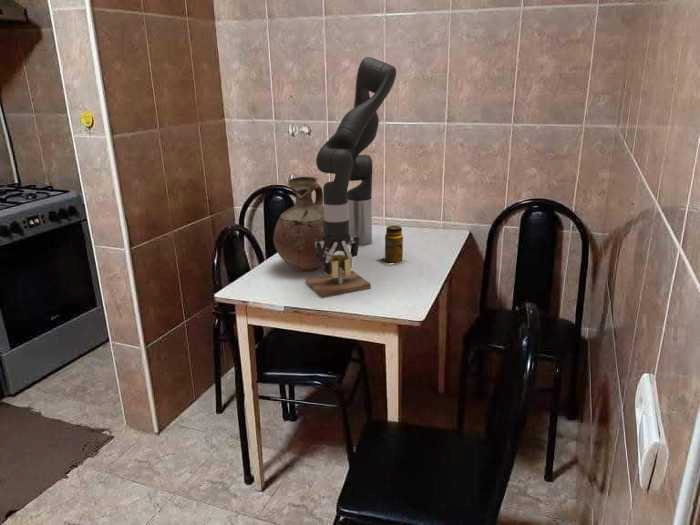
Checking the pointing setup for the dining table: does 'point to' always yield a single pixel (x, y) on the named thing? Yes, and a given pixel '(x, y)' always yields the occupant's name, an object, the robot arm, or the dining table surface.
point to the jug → (301, 226)
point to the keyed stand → (337, 284)
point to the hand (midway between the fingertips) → (337, 271)
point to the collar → (339, 260)
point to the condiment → (393, 246)
